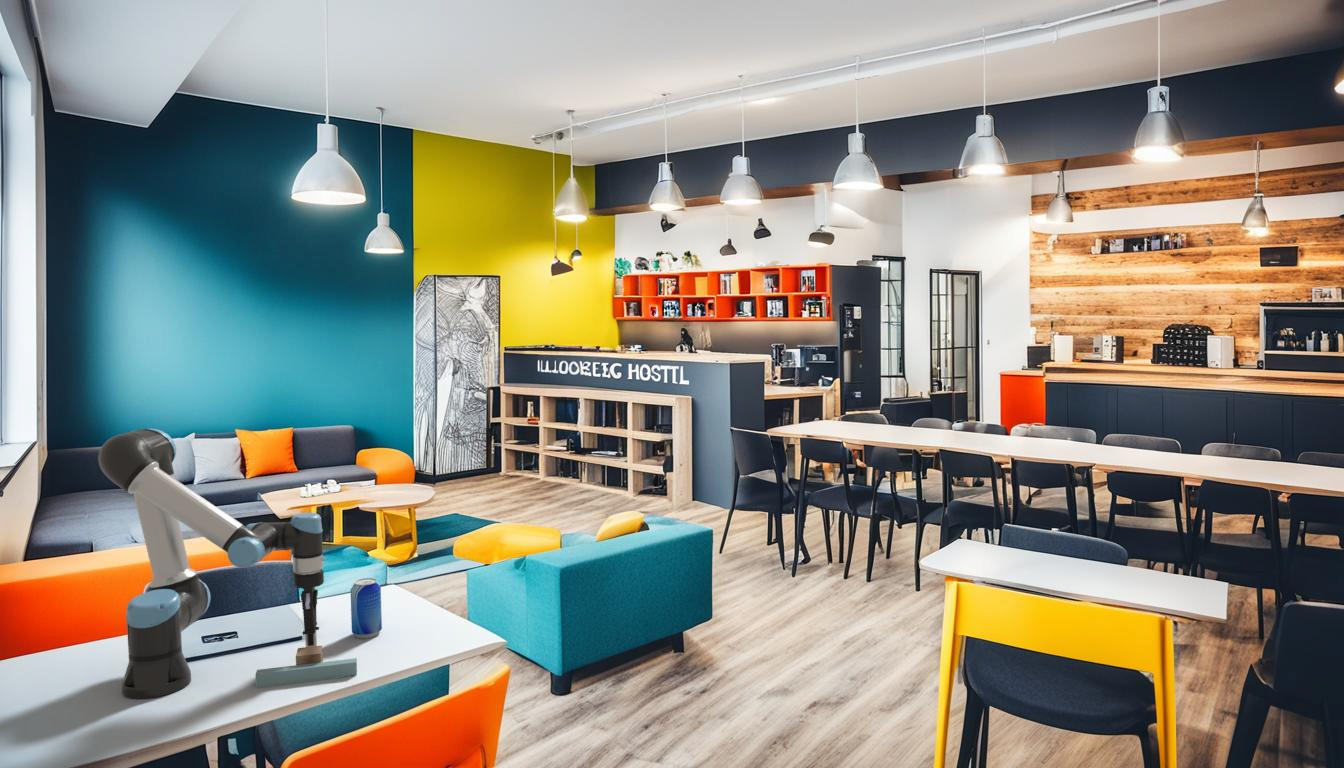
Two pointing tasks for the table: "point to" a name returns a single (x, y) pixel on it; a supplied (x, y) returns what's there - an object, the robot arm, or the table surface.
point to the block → (309, 655)
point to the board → (305, 672)
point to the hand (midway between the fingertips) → (311, 655)
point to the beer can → (366, 608)
